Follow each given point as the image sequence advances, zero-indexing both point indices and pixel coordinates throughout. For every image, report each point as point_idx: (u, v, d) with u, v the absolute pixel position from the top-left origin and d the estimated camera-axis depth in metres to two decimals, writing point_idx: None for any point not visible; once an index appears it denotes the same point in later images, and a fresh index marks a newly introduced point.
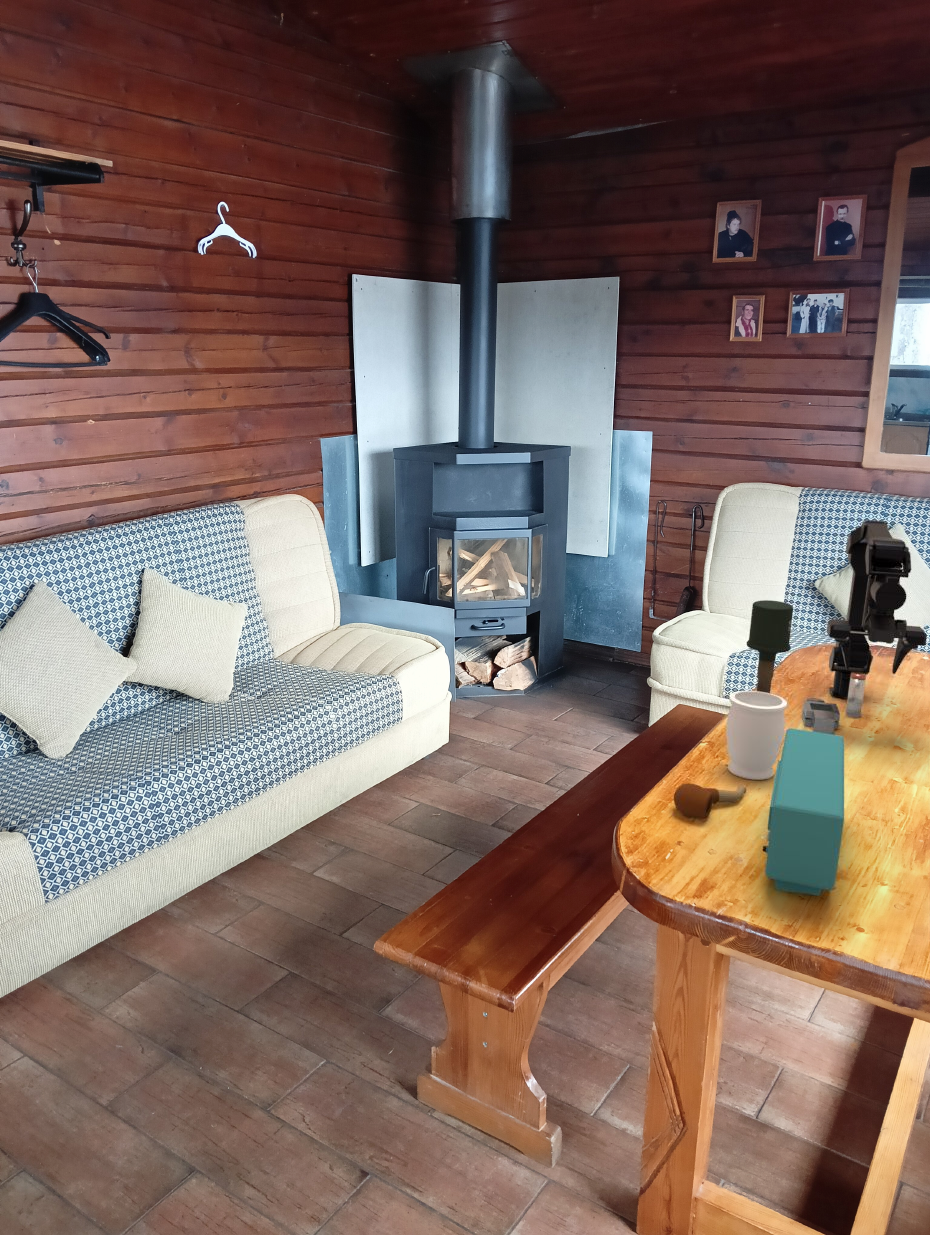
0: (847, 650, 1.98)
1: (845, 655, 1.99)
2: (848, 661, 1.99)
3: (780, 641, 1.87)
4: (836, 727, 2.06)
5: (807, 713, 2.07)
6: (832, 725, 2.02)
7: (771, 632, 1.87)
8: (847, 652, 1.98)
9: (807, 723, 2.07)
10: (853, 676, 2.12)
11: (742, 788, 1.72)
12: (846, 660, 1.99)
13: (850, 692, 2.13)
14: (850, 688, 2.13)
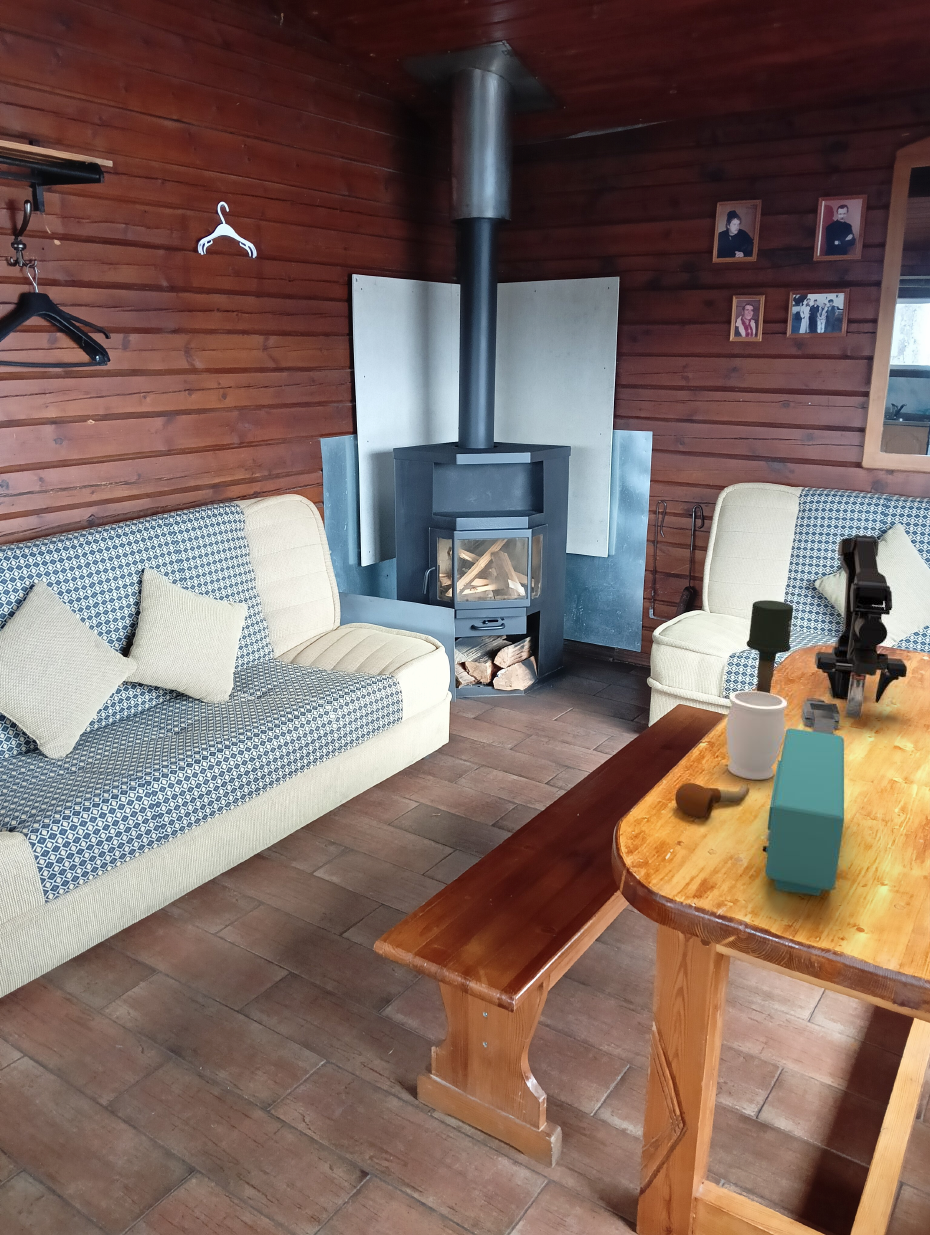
0: (833, 680, 2.13)
1: (831, 685, 2.14)
2: (834, 691, 2.14)
3: (780, 641, 1.87)
4: (836, 727, 2.06)
5: (807, 713, 2.07)
6: (832, 725, 2.02)
7: (771, 632, 1.87)
8: (833, 682, 2.13)
9: (807, 723, 2.07)
10: (853, 676, 2.12)
11: (745, 788, 1.72)
12: (832, 690, 2.14)
13: (850, 692, 2.13)
14: (850, 688, 2.13)
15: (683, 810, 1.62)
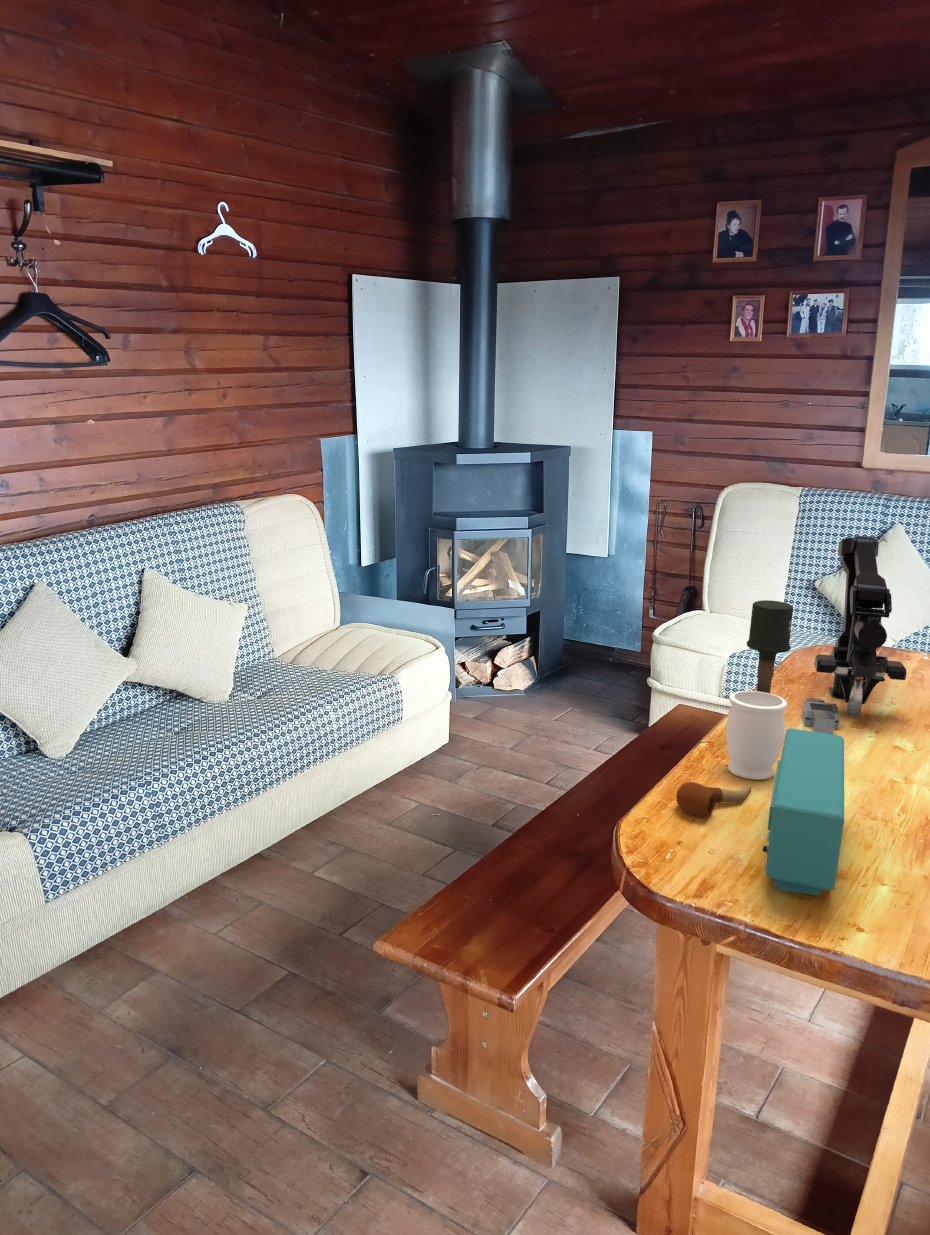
0: (846, 684, 2.13)
1: (844, 689, 2.13)
2: (847, 695, 2.14)
3: (780, 641, 1.87)
4: (836, 727, 2.06)
5: (807, 713, 2.07)
6: (832, 725, 2.02)
7: (771, 632, 1.87)
8: (846, 686, 2.13)
9: (807, 723, 2.07)
10: (853, 676, 2.12)
11: (747, 788, 1.72)
12: (845, 694, 2.14)
13: (850, 692, 2.13)
14: (850, 688, 2.13)
15: (684, 809, 1.62)
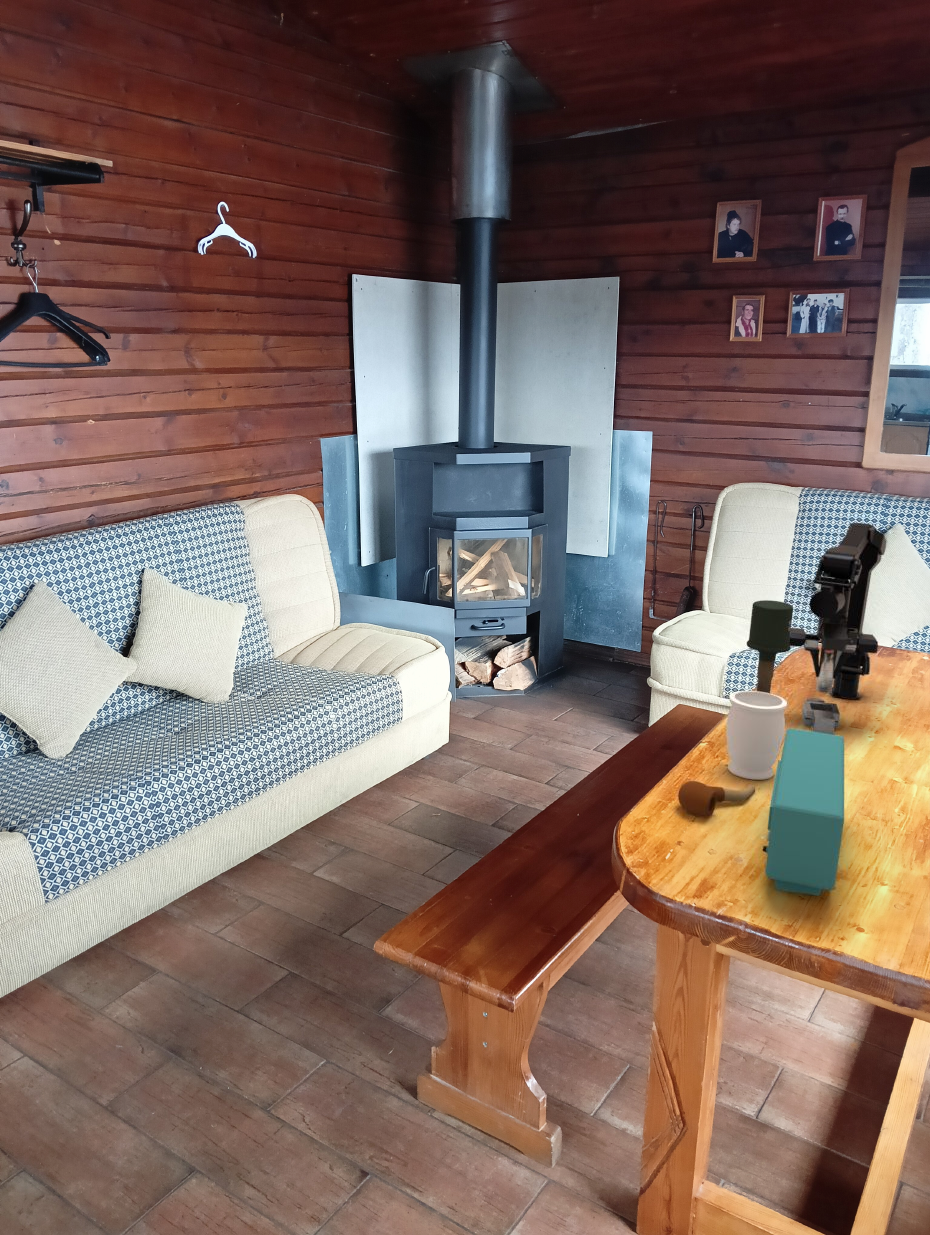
0: (816, 658, 2.06)
1: (814, 663, 2.06)
2: (817, 669, 2.07)
3: (780, 641, 1.87)
4: (836, 727, 2.06)
5: (807, 713, 2.07)
6: (832, 725, 2.02)
7: (771, 632, 1.87)
8: (817, 660, 2.06)
9: (807, 723, 2.07)
10: (823, 650, 2.05)
11: (750, 788, 1.72)
12: (816, 668, 2.07)
13: (820, 666, 2.06)
14: (820, 662, 2.06)
15: (685, 808, 1.63)
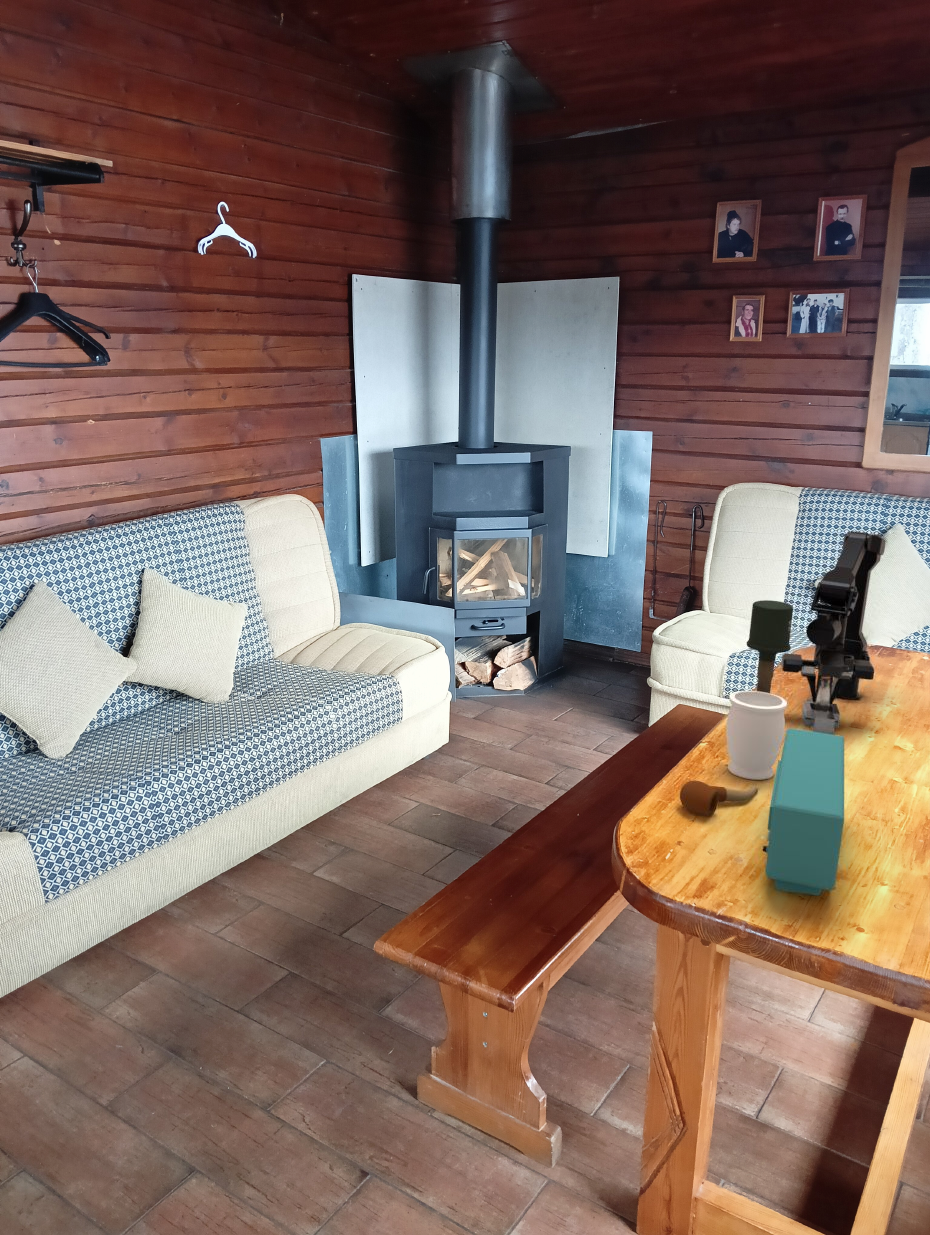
0: (813, 684, 2.07)
1: (811, 689, 2.08)
2: (814, 695, 2.08)
3: (780, 641, 1.87)
4: (836, 727, 2.06)
5: (807, 713, 2.07)
6: (832, 725, 2.02)
7: (771, 632, 1.87)
8: (813, 686, 2.07)
9: (807, 723, 2.07)
10: (820, 676, 2.06)
11: (753, 788, 1.72)
12: (812, 694, 2.08)
13: (817, 692, 2.08)
14: (817, 688, 2.08)
15: (686, 807, 1.63)
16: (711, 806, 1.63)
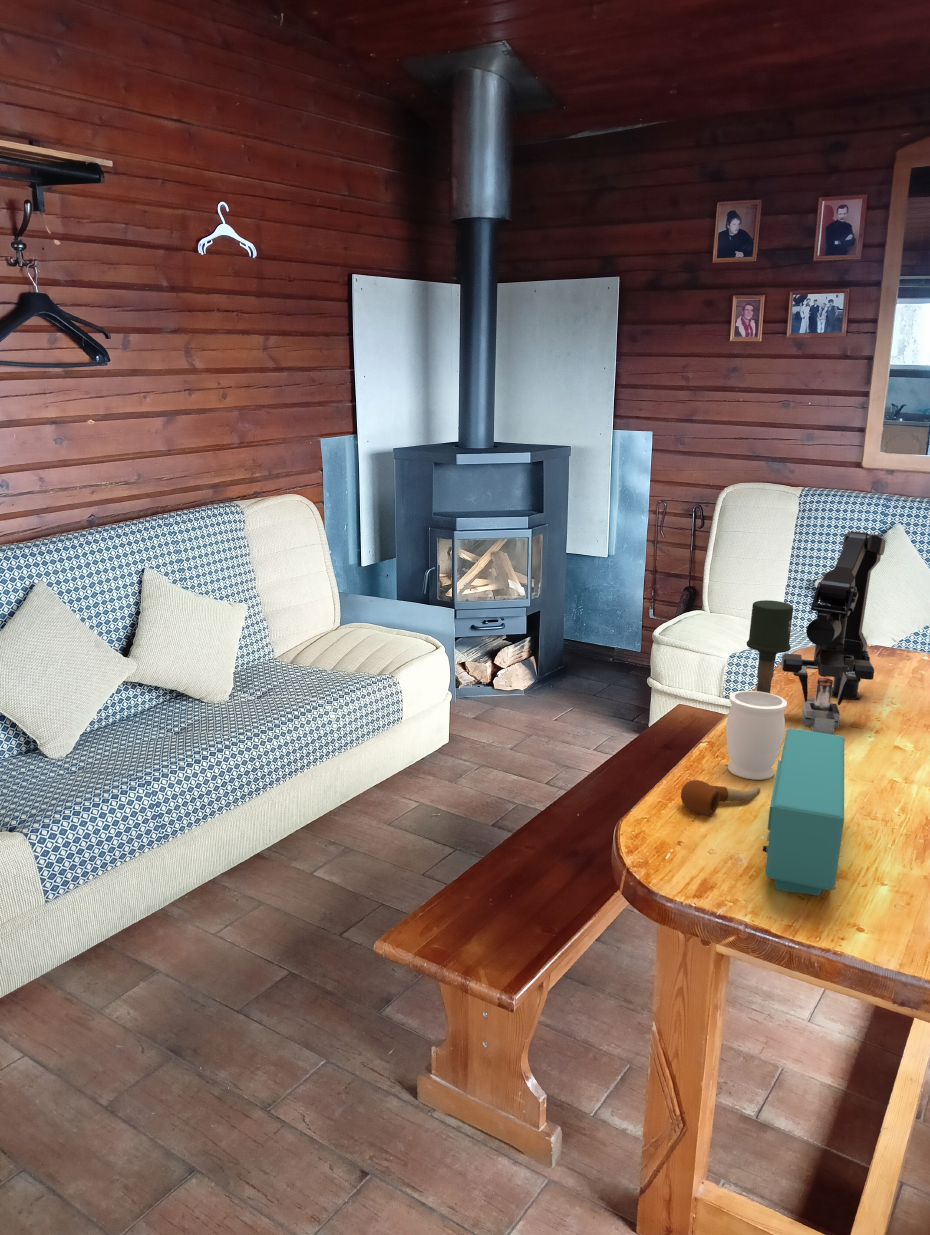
0: (805, 683, 2.07)
1: (803, 688, 2.08)
2: (806, 694, 2.08)
3: (780, 641, 1.87)
4: (836, 727, 2.06)
5: (807, 713, 2.07)
6: (832, 725, 2.02)
7: (771, 632, 1.87)
8: (805, 685, 2.08)
9: (807, 723, 2.07)
10: (819, 682, 2.07)
11: (755, 788, 1.72)
12: (804, 693, 2.08)
13: (816, 699, 2.08)
14: (816, 695, 2.08)
15: (687, 806, 1.64)
16: (712, 806, 1.64)
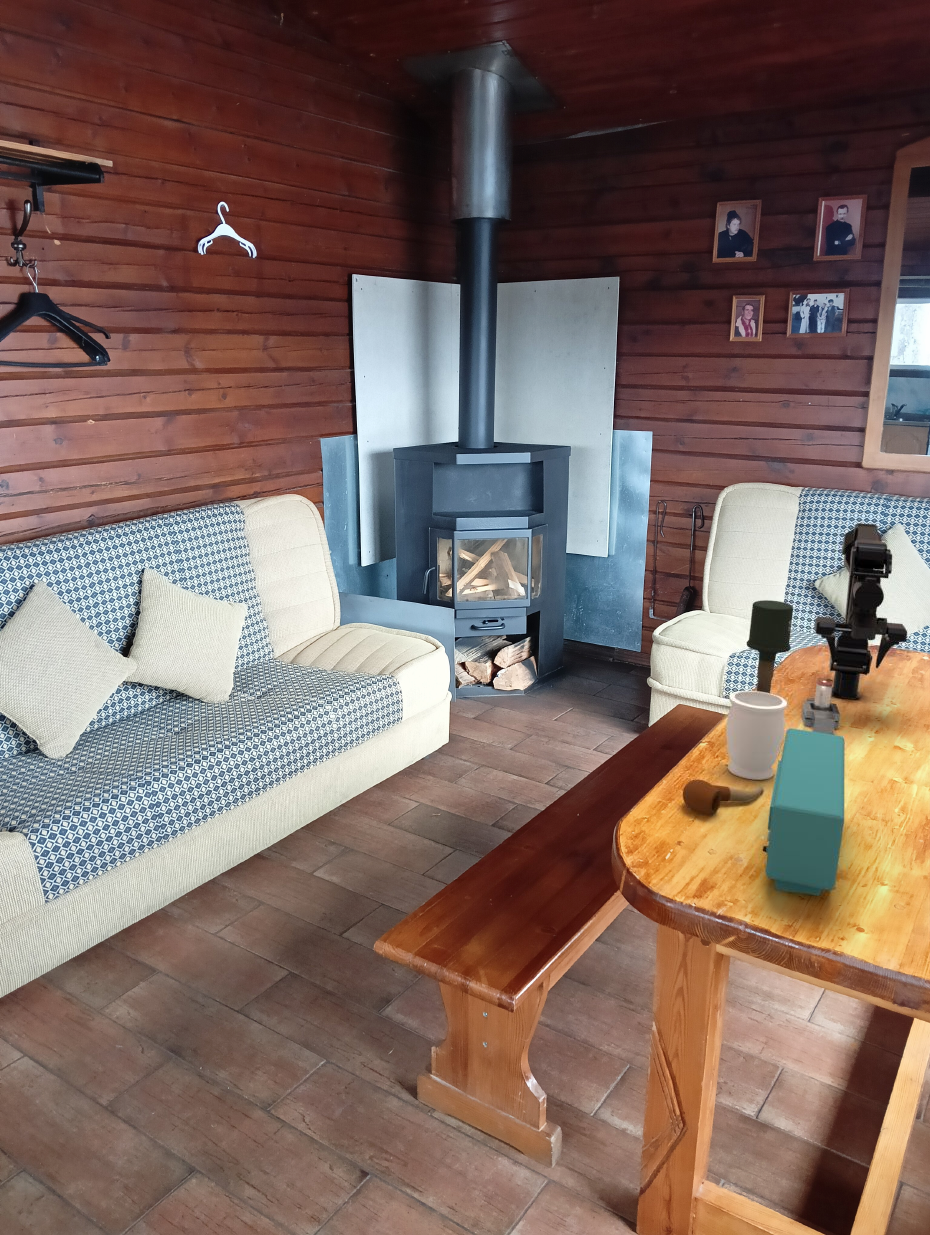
0: (833, 646, 2.11)
1: (831, 650, 2.11)
2: (834, 656, 2.12)
3: (780, 641, 1.87)
4: (836, 727, 2.06)
5: (807, 713, 2.07)
6: (832, 725, 2.02)
7: (771, 632, 1.87)
8: (833, 647, 2.11)
9: (807, 723, 2.07)
10: (819, 682, 2.07)
11: (758, 789, 1.72)
12: (832, 655, 2.12)
13: (816, 699, 2.08)
14: (816, 695, 2.08)
15: (689, 806, 1.64)
16: (713, 805, 1.64)
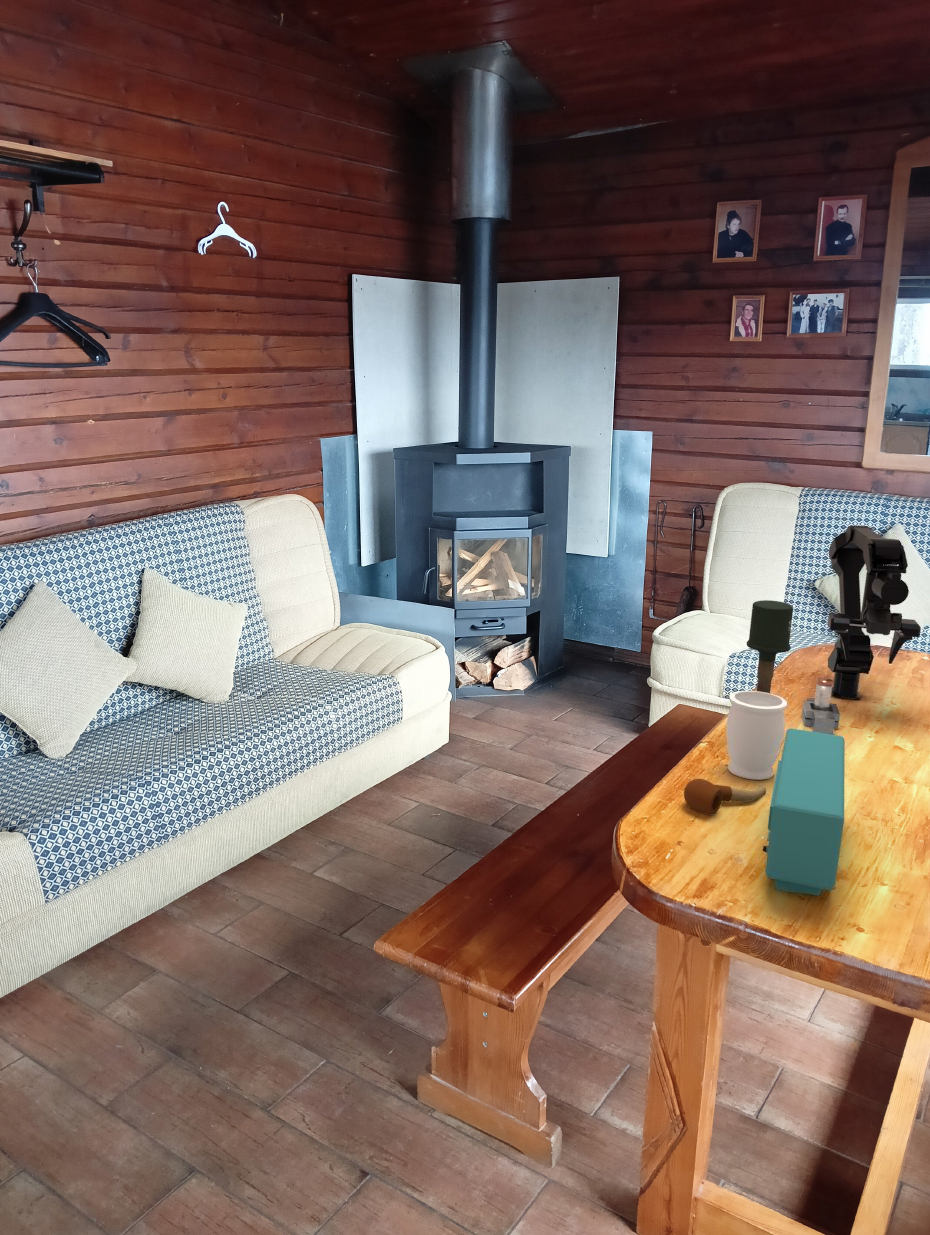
0: (846, 642, 2.12)
1: (845, 646, 2.13)
2: (847, 652, 2.13)
3: (780, 641, 1.87)
4: (836, 727, 2.06)
5: (807, 713, 2.07)
6: (832, 725, 2.02)
7: (771, 632, 1.87)
8: (847, 643, 2.13)
9: (807, 723, 2.07)
10: (819, 682, 2.07)
11: (761, 789, 1.72)
12: (846, 651, 2.13)
13: (816, 699, 2.08)
14: (816, 695, 2.08)
15: (689, 805, 1.64)
16: (714, 804, 1.64)
